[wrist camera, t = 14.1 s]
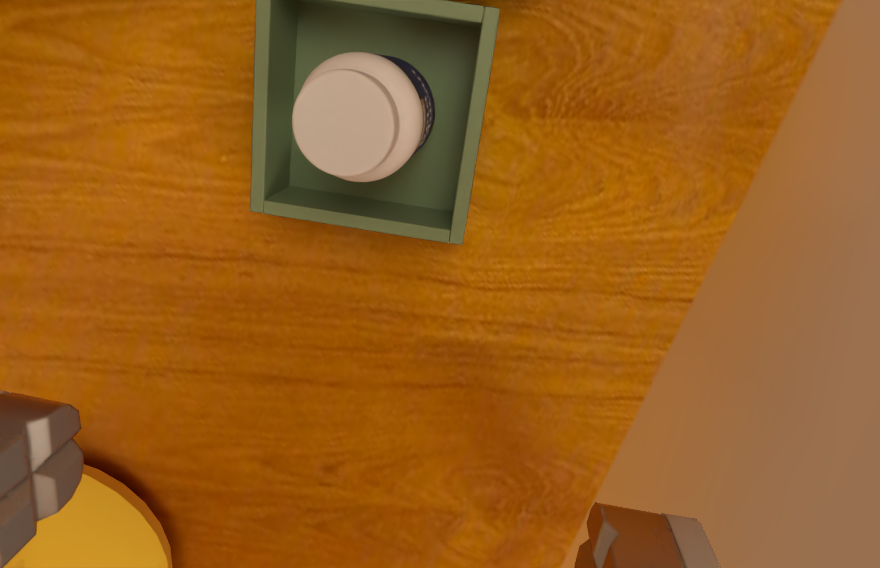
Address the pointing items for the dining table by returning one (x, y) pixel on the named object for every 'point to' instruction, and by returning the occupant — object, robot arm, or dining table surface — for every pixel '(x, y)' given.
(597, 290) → the dining table surface
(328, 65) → the pill bottle
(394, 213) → the green bin
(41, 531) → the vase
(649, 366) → the dining table surface
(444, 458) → the dining table surface
